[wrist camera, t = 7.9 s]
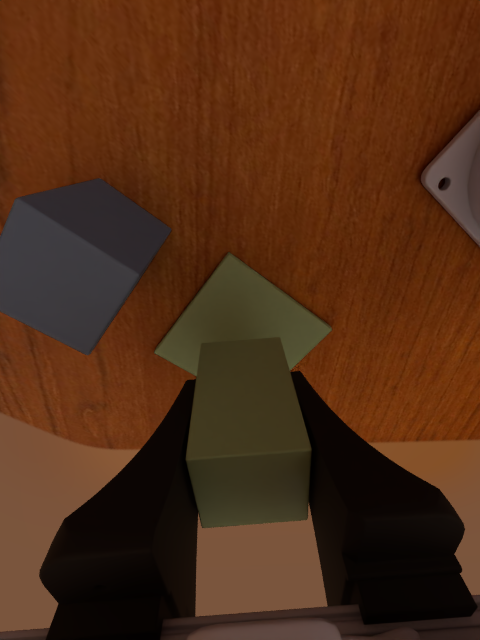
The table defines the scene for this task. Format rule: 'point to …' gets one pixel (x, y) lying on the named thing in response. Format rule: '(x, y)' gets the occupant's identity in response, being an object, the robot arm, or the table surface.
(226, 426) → the green block
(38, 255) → the blue block
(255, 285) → the green mat
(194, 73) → the table surface
